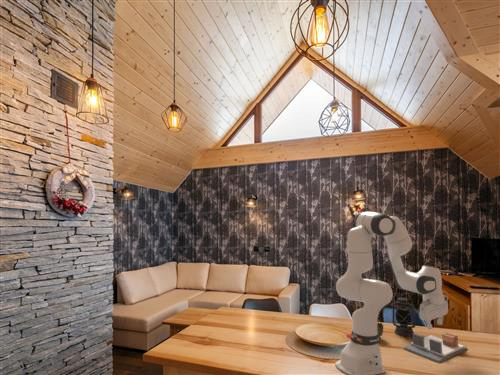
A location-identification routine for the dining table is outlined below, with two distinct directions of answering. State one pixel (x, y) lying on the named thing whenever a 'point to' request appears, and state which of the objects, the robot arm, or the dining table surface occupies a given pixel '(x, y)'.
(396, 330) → the lantern
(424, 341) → the grey strip
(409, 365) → the dining table surface
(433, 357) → the slate board
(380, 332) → the dark ornate pot
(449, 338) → the rust block
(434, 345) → the white strip
